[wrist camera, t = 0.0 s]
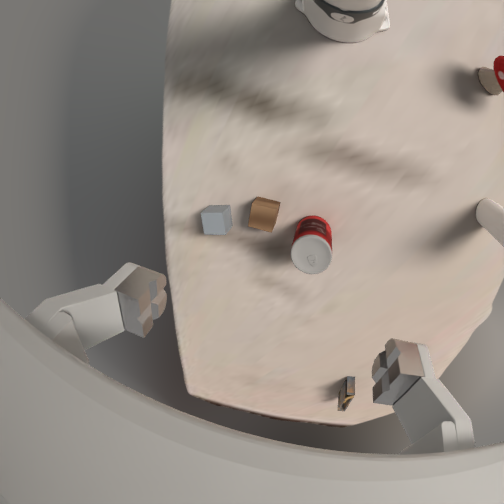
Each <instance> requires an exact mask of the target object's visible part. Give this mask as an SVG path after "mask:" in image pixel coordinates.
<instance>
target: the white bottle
mask: <svg viewBox="0 0 504 504" xmlns="http://www.w3.org/2000/svg"><path fill="white" fill-rule="evenodd" d="M476 218H477V221H478V222H479V223H480V224H481V225H482V226H483V227H484V228H485V229H486V230H487V231H488V232H489V233H490V234H491V235H492V236H493V237H494V238H495V239H496V240H497V241H498V242H499V243H500V244H501V245H502V246H503V247H504V208H503V207H502V206H500V205H499V204H497V203H496V202H495V201H493V200H492V199H490V198H485V199H483V200H481V201H480V202H479V204H478V206H477V209H476Z"/></svg>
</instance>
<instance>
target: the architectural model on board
mask: <svg viewBox="0 0 504 504" xmlns="http://www.w3.org/2000/svg"><path fill="white" fill-rule="evenodd" d="M346 383H347V391H346ZM338 394H339V397H338V411H345V410H346V409H347V407H348V405H349V404H350V402H351V400H352V399H353V397H354V395H355V377H350V376H347V380H345V383H344V385H343V387H342V389H341V390H340V392H339V393H338Z"/></svg>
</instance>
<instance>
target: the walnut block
mask: <svg viewBox="0 0 504 504" xmlns="http://www.w3.org/2000/svg"><path fill="white" fill-rule="evenodd" d="M279 206H280V202H277V201H273V200H270V199H266V198H261V197H257V198H256V199H255V200H254V202H253V203H252V206H251V212H250V217H249V223H248V226H249V227H253V228H257V229H260V230H264V231H268V232H272V230H273V228H274V226H275V224H276V220H277V215H278V211H279Z"/></svg>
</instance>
